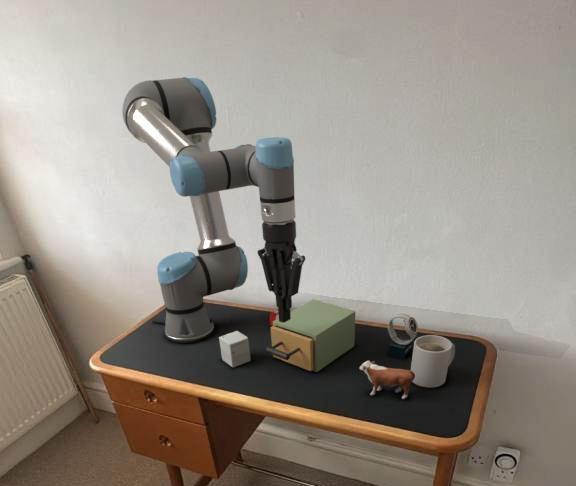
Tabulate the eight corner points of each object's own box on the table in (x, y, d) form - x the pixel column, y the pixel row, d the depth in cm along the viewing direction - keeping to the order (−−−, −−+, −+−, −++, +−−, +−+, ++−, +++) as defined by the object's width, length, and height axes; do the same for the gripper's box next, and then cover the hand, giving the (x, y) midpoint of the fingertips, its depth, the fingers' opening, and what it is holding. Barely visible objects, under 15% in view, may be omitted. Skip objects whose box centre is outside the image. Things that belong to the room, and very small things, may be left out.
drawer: (297, 380, 119) (295, 350, 114) (258, 365, 127) (255, 335, 121) (346, 346, 132) (347, 317, 127) (309, 334, 139) (308, 306, 134)
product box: (232, 368, 128) (229, 344, 123) (221, 360, 132) (218, 336, 127) (251, 361, 130) (248, 337, 126) (240, 353, 134) (237, 329, 130)
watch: (409, 360, 126) (414, 323, 119) (382, 353, 130) (385, 316, 123) (417, 351, 130) (422, 314, 123) (391, 345, 133) (394, 309, 126)
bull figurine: (359, 384, 118) (361, 356, 113) (413, 392, 114) (417, 363, 109) (355, 393, 115) (356, 364, 110) (410, 402, 111) (414, 373, 106)
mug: (410, 387, 116) (415, 351, 110) (408, 367, 123) (412, 333, 117) (456, 388, 114) (463, 352, 108) (450, 368, 122) (457, 334, 115)
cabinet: (316, 372, 124) (316, 335, 117) (275, 356, 132) (272, 321, 125) (354, 346, 134) (355, 310, 127) (313, 332, 142) (313, 299, 135)
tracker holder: (275, 330, 142) (262, 311, 148) (278, 340, 146) (265, 321, 151) (310, 313, 144) (295, 295, 149) (312, 323, 147) (297, 306, 153)
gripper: (245, 221, 104) (255, 319, 118) (290, 229, 97) (295, 332, 111) (268, 213, 108) (275, 309, 123) (312, 220, 101) (314, 321, 116)
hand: (284, 320), depth 117 cm, fingers closed
